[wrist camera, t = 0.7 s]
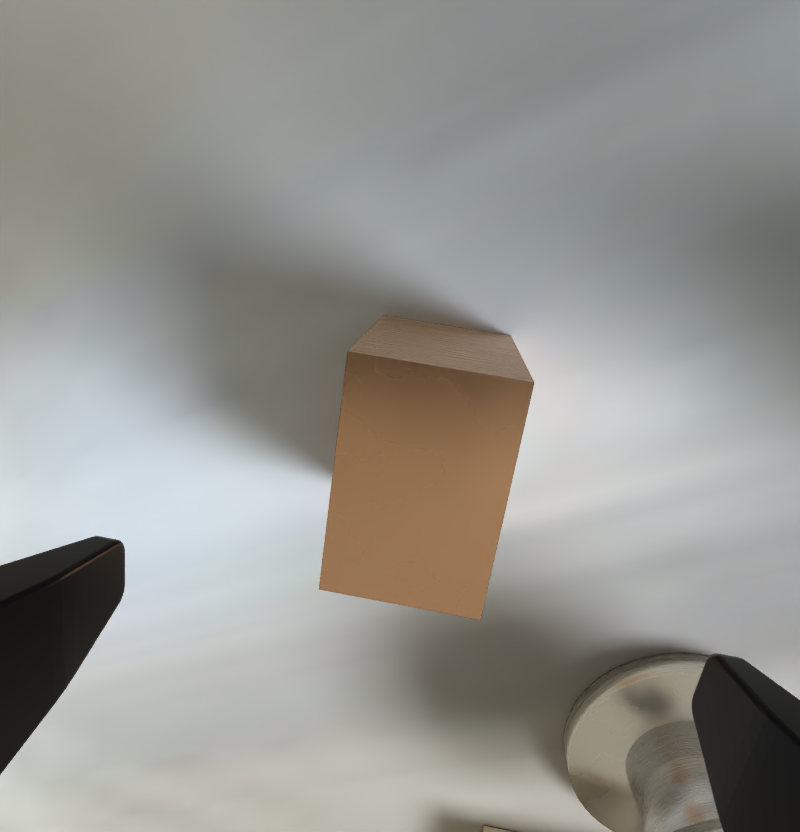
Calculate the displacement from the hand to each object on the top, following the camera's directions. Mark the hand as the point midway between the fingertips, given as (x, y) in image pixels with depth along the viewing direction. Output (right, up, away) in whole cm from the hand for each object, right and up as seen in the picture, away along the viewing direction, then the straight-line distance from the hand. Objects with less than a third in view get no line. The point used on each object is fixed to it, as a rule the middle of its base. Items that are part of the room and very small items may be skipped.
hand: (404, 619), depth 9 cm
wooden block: (+1, +3, +10) cm, 11 cm away
